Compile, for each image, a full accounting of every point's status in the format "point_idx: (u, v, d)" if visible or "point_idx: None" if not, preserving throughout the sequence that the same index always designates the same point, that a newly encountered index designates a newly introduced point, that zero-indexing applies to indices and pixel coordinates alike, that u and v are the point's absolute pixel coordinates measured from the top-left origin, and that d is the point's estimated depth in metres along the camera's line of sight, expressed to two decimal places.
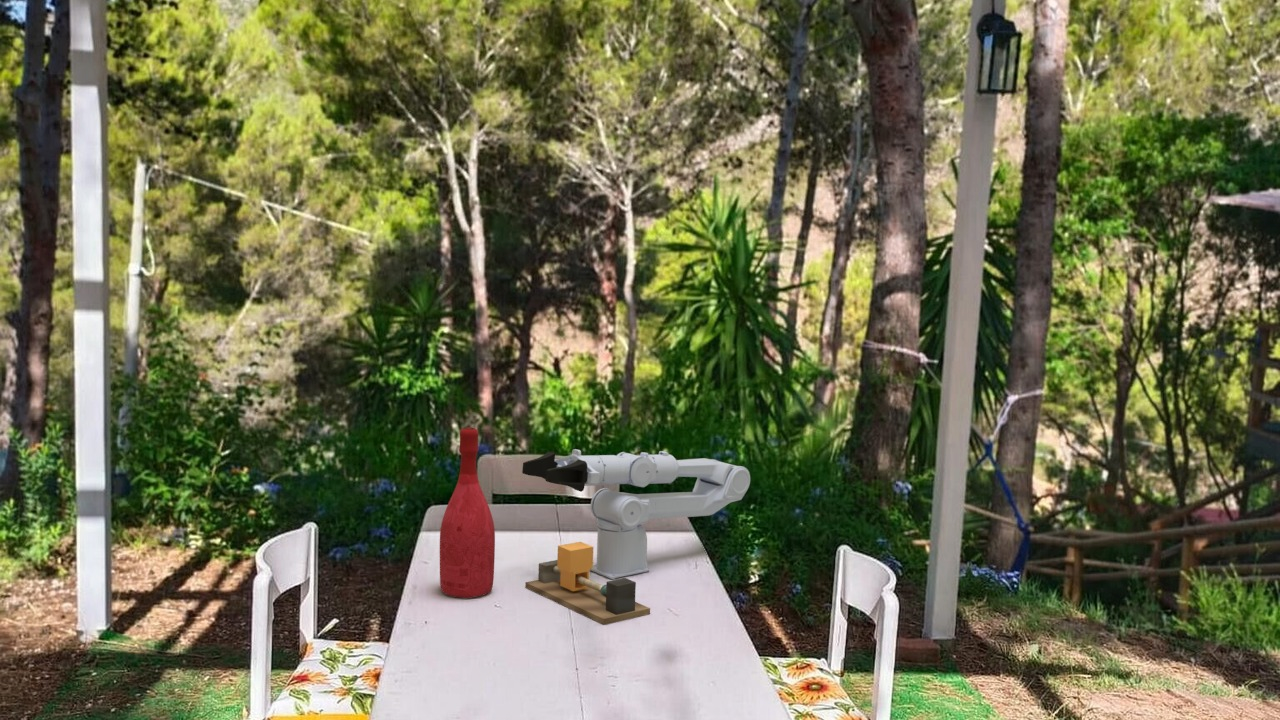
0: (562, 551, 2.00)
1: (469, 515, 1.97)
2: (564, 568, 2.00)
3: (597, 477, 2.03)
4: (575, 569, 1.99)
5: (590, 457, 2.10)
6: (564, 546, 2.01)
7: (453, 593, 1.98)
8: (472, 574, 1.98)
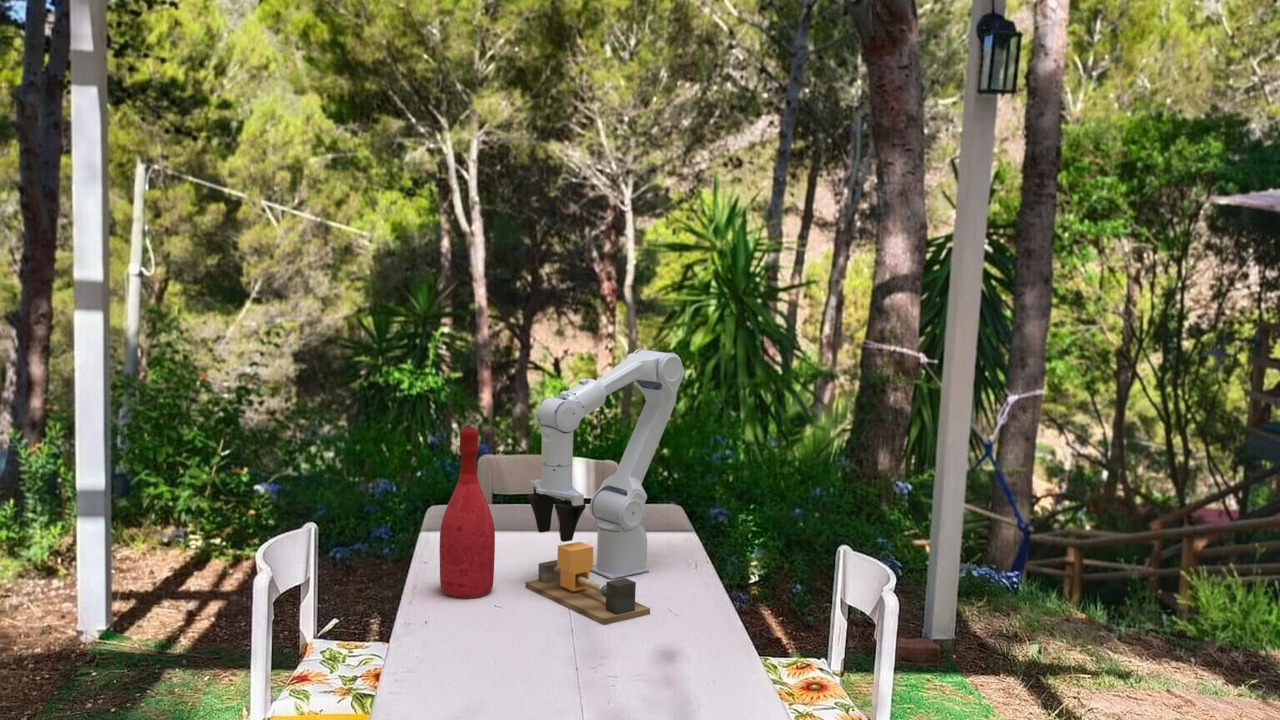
0: (562, 551, 2.00)
1: (469, 515, 1.97)
2: (564, 568, 2.00)
3: (578, 497, 2.00)
4: (575, 569, 1.99)
5: (547, 477, 2.03)
6: (564, 546, 2.01)
7: (453, 593, 1.98)
8: (472, 574, 1.98)
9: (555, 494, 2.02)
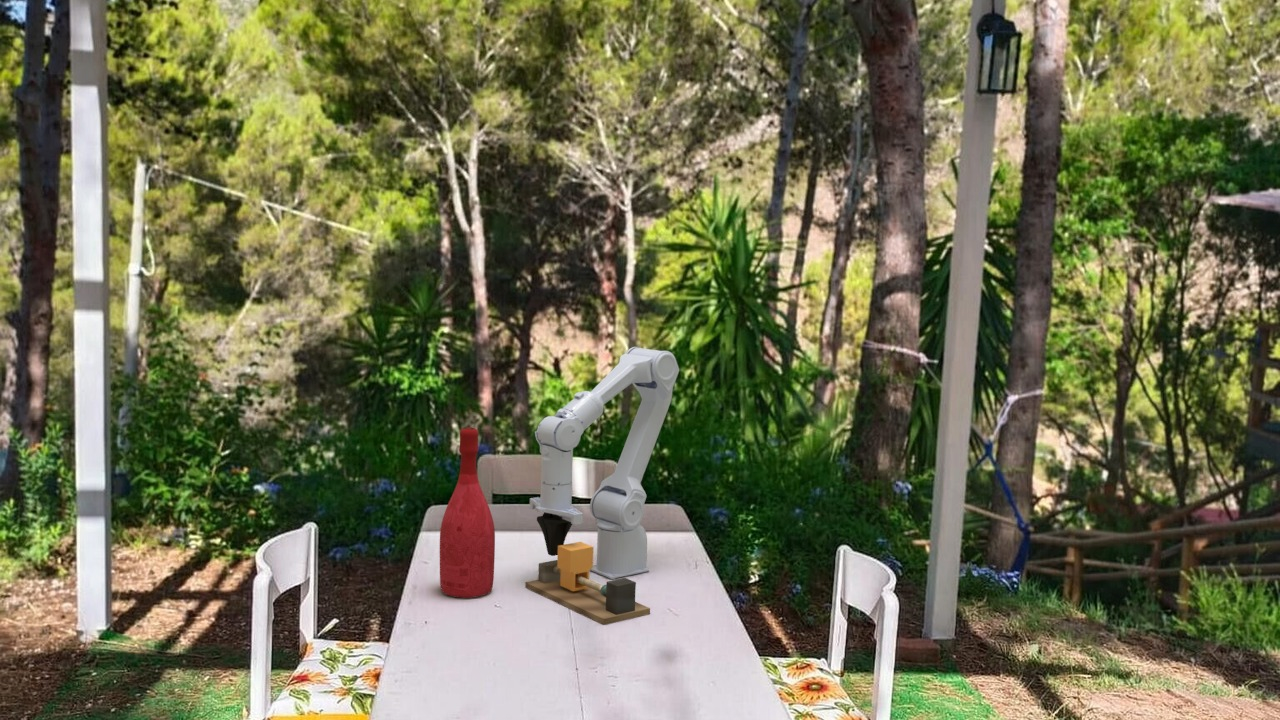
0: (562, 551, 2.00)
1: (469, 515, 1.97)
2: (564, 568, 2.00)
3: (578, 516, 2.00)
4: (575, 569, 1.99)
5: (546, 495, 2.03)
6: (564, 546, 2.01)
7: (453, 593, 1.98)
8: (472, 574, 1.98)
9: (554, 513, 2.02)
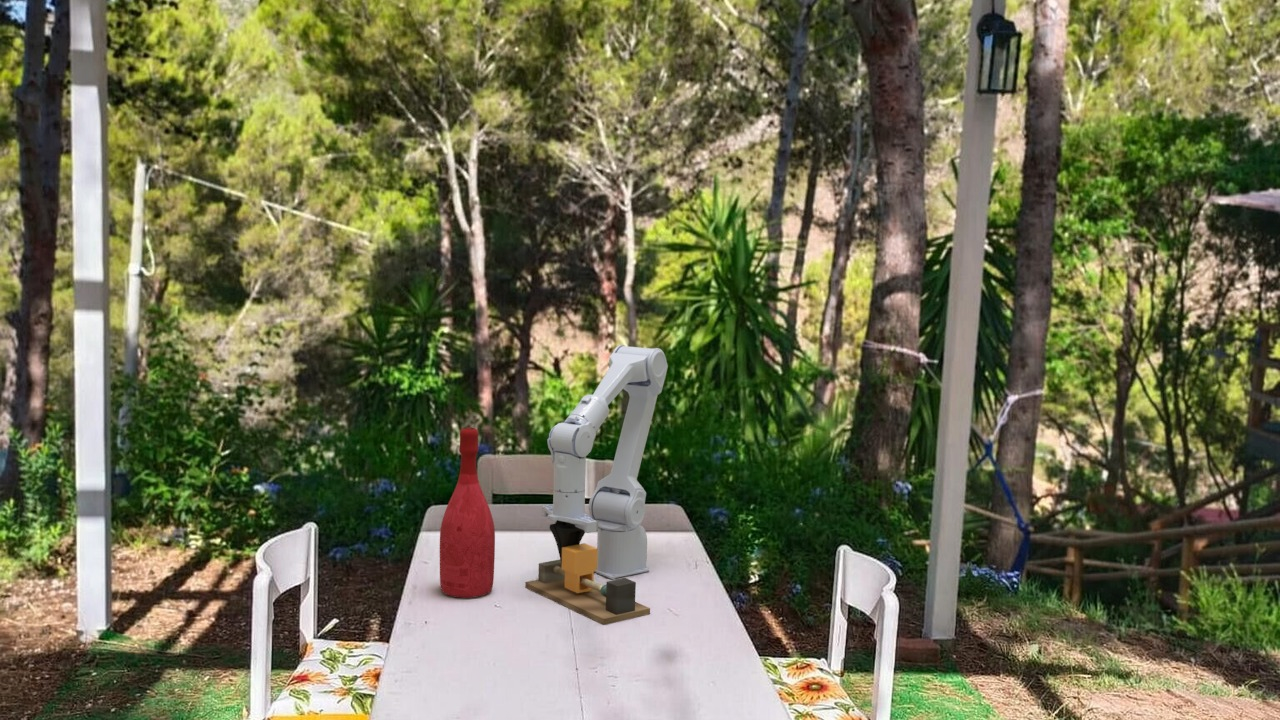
0: (566, 552, 1.99)
1: (469, 515, 1.97)
2: (568, 570, 1.99)
3: (591, 524, 1.97)
4: (579, 571, 1.98)
5: (559, 503, 2.00)
6: (569, 548, 2.00)
7: (453, 593, 1.98)
8: (472, 574, 1.98)
9: (567, 521, 1.99)
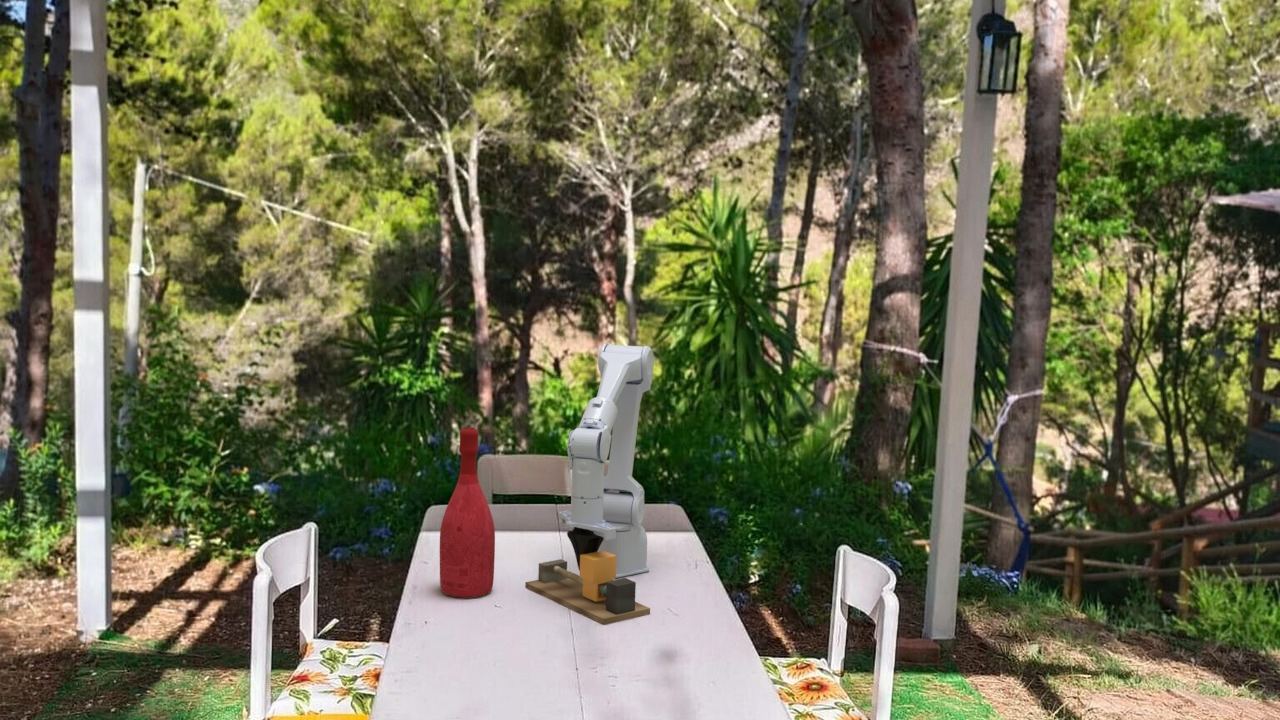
0: (584, 560, 1.95)
1: (469, 515, 1.97)
2: (587, 578, 1.95)
3: (610, 531, 1.93)
4: (598, 579, 1.94)
5: (577, 509, 1.96)
6: (587, 555, 1.96)
7: (453, 593, 1.98)
8: (472, 574, 1.98)
9: (586, 527, 1.95)
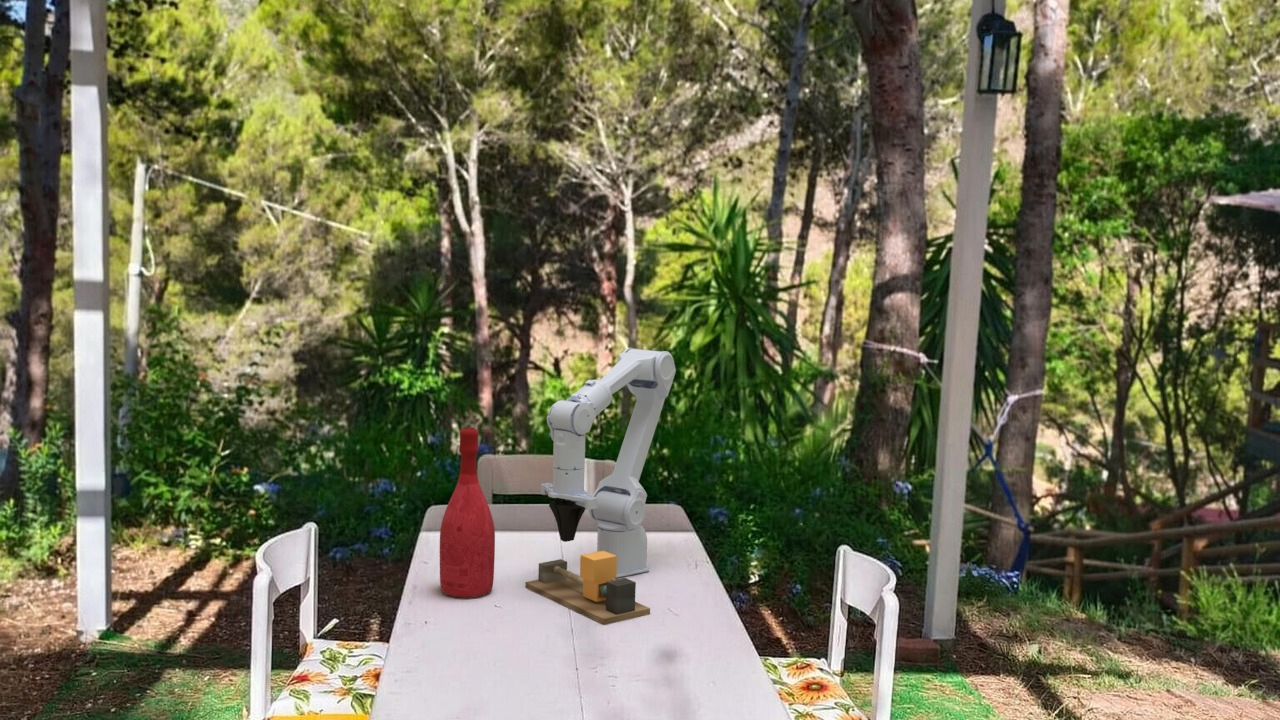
0: (585, 560, 1.95)
1: (469, 515, 1.97)
2: (587, 578, 1.95)
3: (592, 501, 1.98)
4: (598, 579, 1.94)
5: (559, 480, 2.00)
6: (587, 555, 1.96)
7: (453, 593, 1.98)
8: (472, 574, 1.98)
9: (568, 498, 2.00)
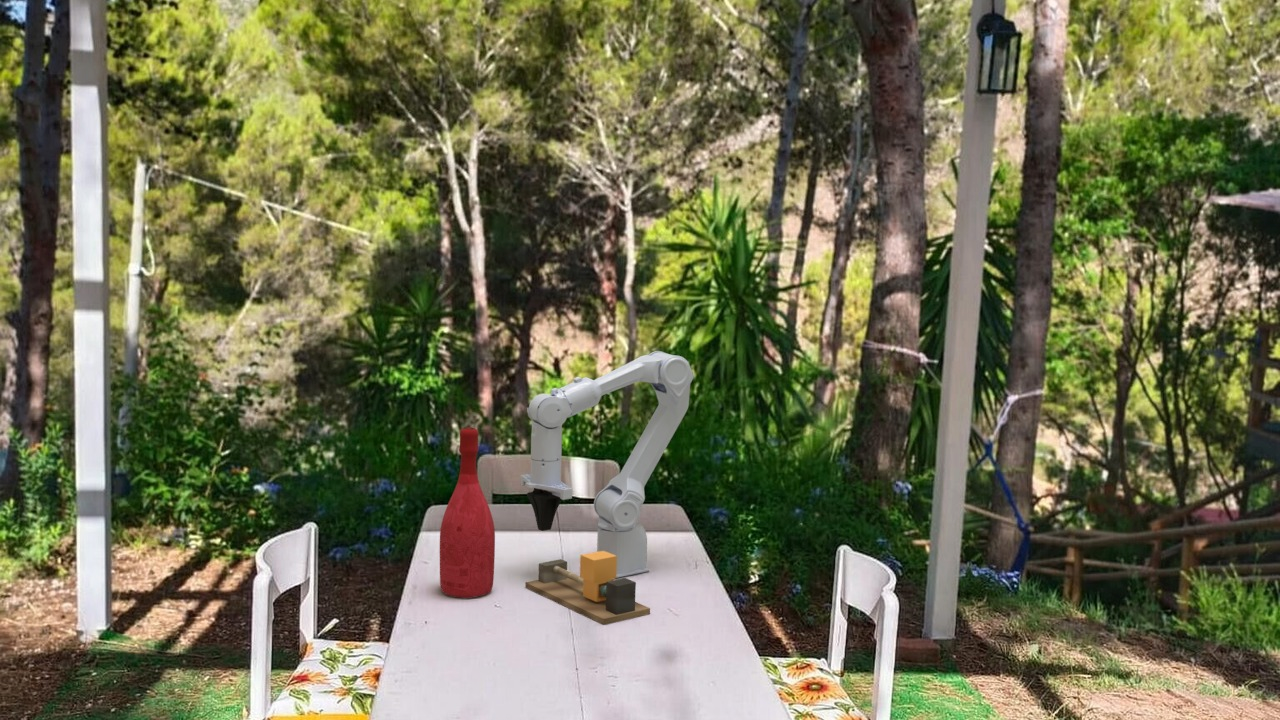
0: (585, 560, 1.95)
1: (469, 515, 1.97)
2: (587, 578, 1.95)
3: (567, 491, 2.04)
4: (598, 579, 1.94)
5: (536, 471, 2.07)
6: (587, 555, 1.96)
7: (453, 593, 1.98)
8: (472, 574, 1.98)
9: (544, 488, 2.06)
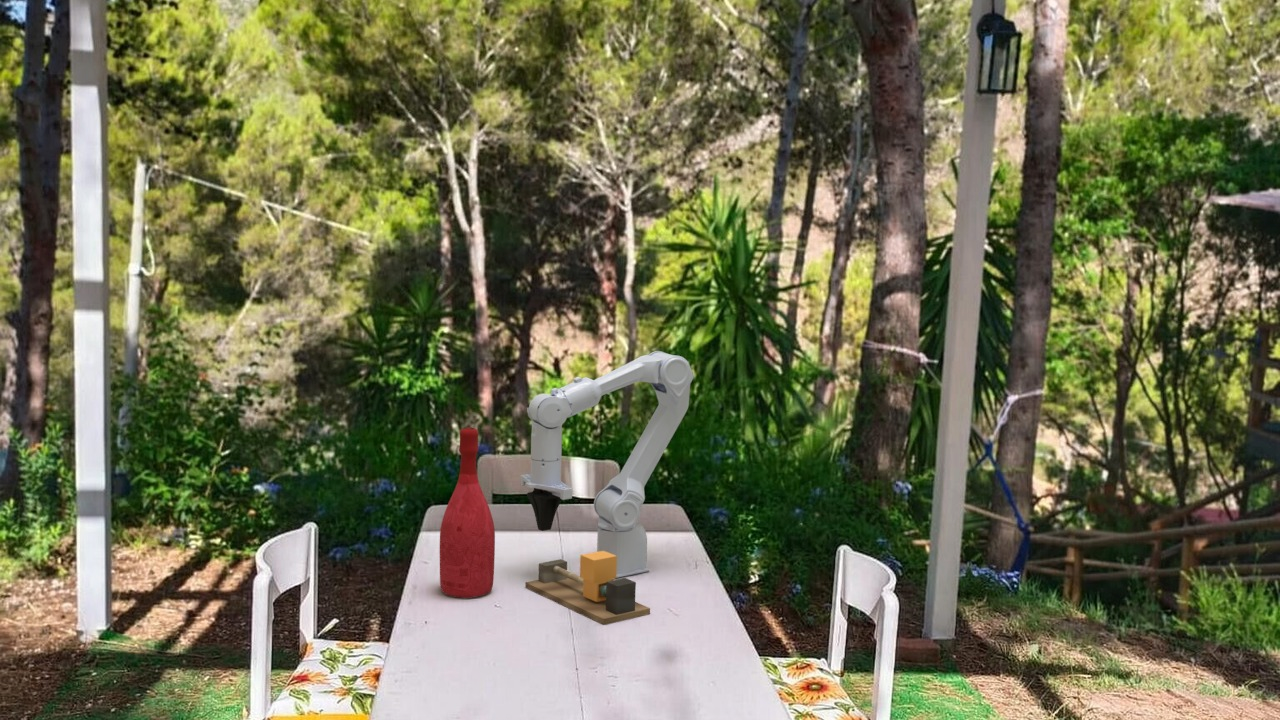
0: (585, 560, 1.95)
1: (469, 515, 1.97)
2: (587, 578, 1.95)
3: (567, 491, 2.04)
4: (598, 579, 1.94)
5: (536, 471, 2.07)
6: (587, 555, 1.96)
7: (453, 593, 1.98)
8: (472, 574, 1.98)
9: (544, 488, 2.06)
